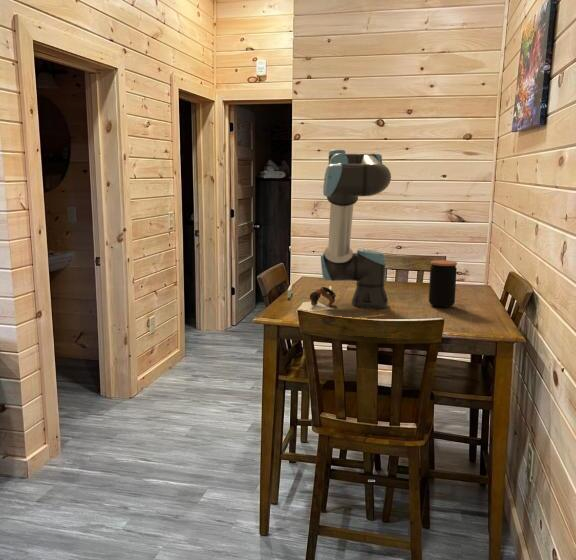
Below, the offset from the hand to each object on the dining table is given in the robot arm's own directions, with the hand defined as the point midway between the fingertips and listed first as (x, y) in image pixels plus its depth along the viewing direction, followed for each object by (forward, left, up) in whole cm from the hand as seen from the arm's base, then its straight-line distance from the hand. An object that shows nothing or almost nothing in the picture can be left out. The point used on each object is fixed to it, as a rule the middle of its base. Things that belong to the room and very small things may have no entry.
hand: (335, 237), depth 251 cm
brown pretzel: (-5, +15, -26) cm, 30 cm away
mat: (-22, +25, -26) cm, 42 cm away
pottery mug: (-20, +20, -27) cm, 39 cm away
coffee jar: (-41, -29, -26) cm, 56 cm away
